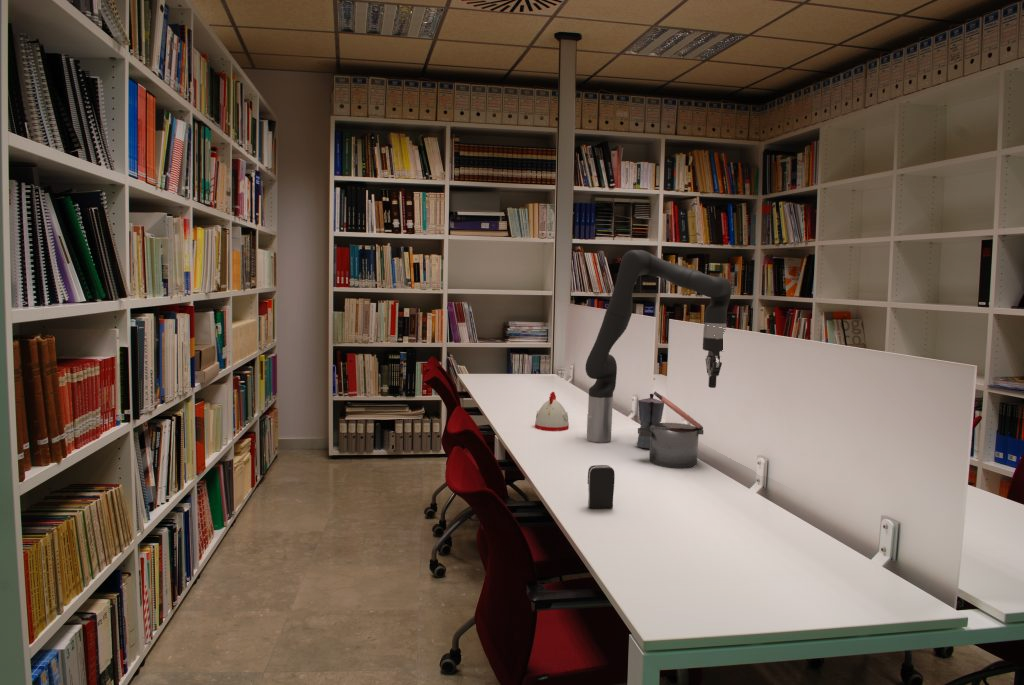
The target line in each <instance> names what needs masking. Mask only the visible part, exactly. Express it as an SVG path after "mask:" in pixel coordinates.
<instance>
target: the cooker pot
mask: <svg viewBox="0 0 1024 685" xmlns="http://www.w3.org/2000/svg"><path fill="white" fill-rule="evenodd" d="M637 434H638V436H639V435H640V436H645V437H650V449H649V455H648V457H649V458H648V460H649V462H650V463H651V464H653V465H655V466H658V467H663V468H667V469H668V468H669V469H690V468H691V469H692V468H694V466H695V465H696V466H697V465H698V456H699V455H698V454H699V436H700V435H704V428H703V429H702V430H700V429H698V428H697V427H695V426H694V425H692V424H691V425H690V424H686V423H680V422H679V423H678V422H660V423H656V424H652V425H651V430H650V428H640V427H638V428H637ZM696 466H695V467H696Z"/></svg>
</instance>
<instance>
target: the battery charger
mask: <svg viewBox="0 0 1024 685" xmlns="http://www.w3.org/2000/svg"><path fill="white" fill-rule="evenodd" d="M615 478H616V477H615V470H614V468H613V467H611V466H610V465H606V464H604V465H603V464H596V465H590V466H589V467H588V470H587V485H588V488H587V489H588V490H587V491H588V501H587V507H588V508H589V509H612V508H613V507H614V494H615V493H614V492H615Z"/></svg>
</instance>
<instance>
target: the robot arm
mask: <svg viewBox="0 0 1024 685" xmlns="http://www.w3.org/2000/svg"><path fill="white" fill-rule="evenodd" d="M639 276H641V277H642V276H650V277H651V276H653V277H657V278H660V279H663V280H666V281H667V282H670V283H671V284H673V285H675V286H677V287H681V288H682V289H686V290H690V291H693V292H696V293H698V294H700V295H703V296H704V297H708V298H710V300H709V301H710V302H709V304H708V305H707V306H706V308H705V312H704V326H703V331H702V332H703V334H702V336H703V337H702V350H703V351H707V352H708V353H707V355H706V357H705V366H706V373H707V376H708V385H707V386H708V388H710V389H712V388H713V389H716V387H717V377H719V375H720V372H721V368H722V364H723V363H722V361H721V362H720V357H721V356H720V352H723V351H722V350H723V334H724V333H723V332H725V331H724V330H726V329H723V328H727V316H728V308H729V304H730V300H731V297H732V285H731V282H730V281H729V279H727V278H726V277H722V276H713V275H709V274H706V273H703V272H702V271H700V270H697V269H694V268H691V267H687V266H684V265H680V264H678V263H677V264H676V263H673V262H670V261H667V260H664V259H662V258H660V257H658V256H656V255H654V254H652V253H650V252H649V251H646V250H644V249H631V250H627V252H625V254H624V255H623V256H622V257H621V261H620V264H619V268H618V273H617V277H616V281H615V285H614V288H613V290H612V294H611V297H610V299H609V303H608V306H607V308H606V311H605V313H604V316H603V320H602V323H601V325H600V328H599V332H598V334H597V336H596V339H595V342H594V344H593V347H592V348H591V350H590V352H589V355H588V357H587V359H586V362H585V373H586V375H587V376H588V378H590V379H593V380H596V381H595V382H594V384H593V385H592V386H591V387H589V388H588V405H587V406H588V408H587V409H588V410H587V421H586V440H587V442H593V443H609V442H611V441H612V427H613V426H612V424H613V402H614V391H615V389H616V384H617V371H618V366H617V361H616V358H615V357H614V356H613V355H612V354H610V351H611V350H612V347H613V346H614V345H615V344H616V343H617V341H618V340H619V339H620V337H621V336H622V335H623V334H624V333H625V331H626V330H627V327H628V325H629V322H630V320H631V317H632V314H633V309H634V306H633V292H634V288H635V285H636V282H637V280H638V278H639ZM707 325H709V326H707ZM713 326H715V327H713ZM719 327H722V328H719ZM714 335H715V336H714Z"/></svg>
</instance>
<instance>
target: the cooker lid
mask: <svg viewBox="0 0 1024 685" xmlns="http://www.w3.org/2000/svg"><path fill="white" fill-rule="evenodd" d="M652 394H654V396H655V397H656V398H657V399H658V400H660V401H662V402H664V405H666V406H667V407H668V408H670V409H671V410H672V411H673V412H675V413H676V414H677V415H679V416H680V417H682V418H683V419H684V420H686V421H687V422H688V423H690V424H691V426H695V427H697V428H698V429H700V430H702V429H703V430H704V427H703V425H701V423H699V422H698V421H696V420H695V419H694V418H693V417H692V416H690V415H689V414H687V413H686V412H685V411H683V410H682V409H681V408H679V407H678V406H677V405H676V404H675V403H673V402H671V400H669V399H667V398H666V397H664V396H663V395H661V394H659V393H658V392H657V391H654V392H653V393H652Z"/></svg>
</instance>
